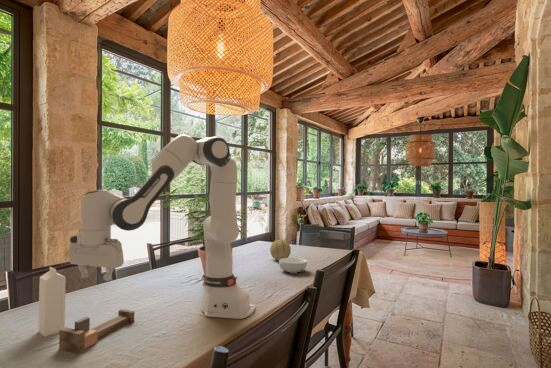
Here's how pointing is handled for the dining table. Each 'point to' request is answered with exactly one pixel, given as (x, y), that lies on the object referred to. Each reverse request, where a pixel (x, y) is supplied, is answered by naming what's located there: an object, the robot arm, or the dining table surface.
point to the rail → (76, 338)
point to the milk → (51, 303)
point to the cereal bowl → (292, 264)
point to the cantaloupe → (280, 249)
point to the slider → (86, 331)
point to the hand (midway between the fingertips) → (96, 278)
